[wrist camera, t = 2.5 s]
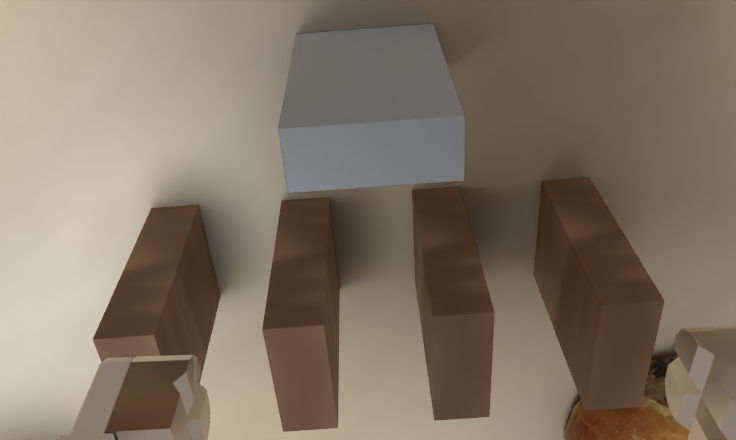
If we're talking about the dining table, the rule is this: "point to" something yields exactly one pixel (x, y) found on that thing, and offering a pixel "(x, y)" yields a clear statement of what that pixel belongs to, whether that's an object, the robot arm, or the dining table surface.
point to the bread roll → (631, 415)
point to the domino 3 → (370, 111)
